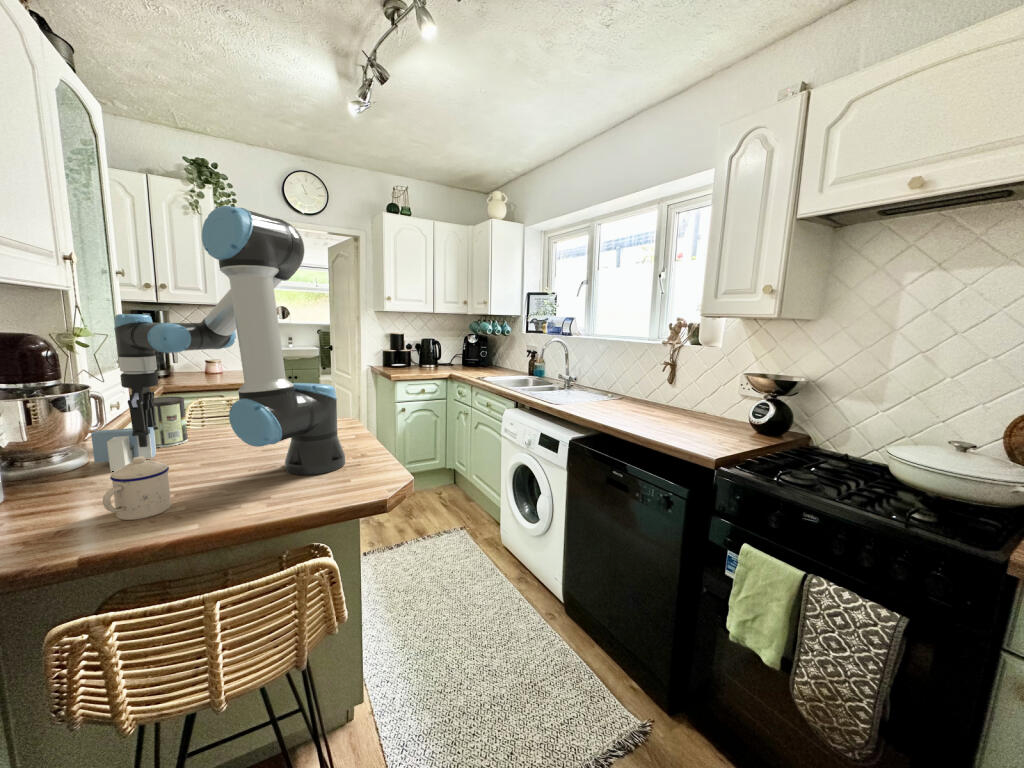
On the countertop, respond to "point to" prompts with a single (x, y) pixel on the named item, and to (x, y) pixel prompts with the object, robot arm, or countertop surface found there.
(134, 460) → the teacup with lid
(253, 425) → the robot arm
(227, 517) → the countertop surface
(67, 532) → the countertop surface
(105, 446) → the light blue flat block
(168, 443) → the coffee can
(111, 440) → the white notched slab
